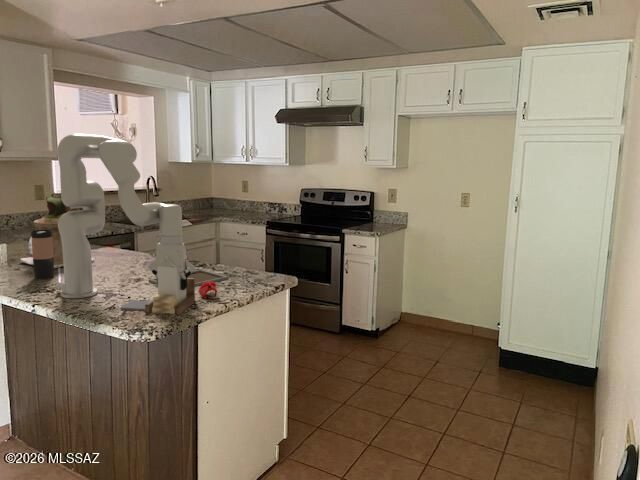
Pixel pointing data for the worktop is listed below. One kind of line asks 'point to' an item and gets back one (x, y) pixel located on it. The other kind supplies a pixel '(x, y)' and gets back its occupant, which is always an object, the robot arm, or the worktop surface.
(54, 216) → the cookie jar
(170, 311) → the offcut low
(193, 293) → the rack
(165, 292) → the milk carton
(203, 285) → the red rounded piece
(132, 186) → the robot arm
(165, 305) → the offcut mid
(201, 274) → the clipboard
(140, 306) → the pad
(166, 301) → the offcut top
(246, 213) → the worktop surface
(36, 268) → the travel mug
